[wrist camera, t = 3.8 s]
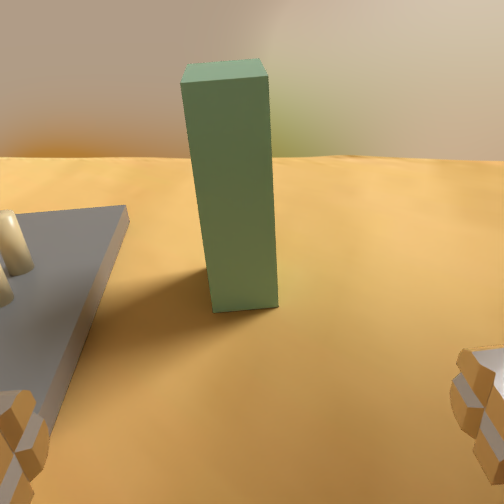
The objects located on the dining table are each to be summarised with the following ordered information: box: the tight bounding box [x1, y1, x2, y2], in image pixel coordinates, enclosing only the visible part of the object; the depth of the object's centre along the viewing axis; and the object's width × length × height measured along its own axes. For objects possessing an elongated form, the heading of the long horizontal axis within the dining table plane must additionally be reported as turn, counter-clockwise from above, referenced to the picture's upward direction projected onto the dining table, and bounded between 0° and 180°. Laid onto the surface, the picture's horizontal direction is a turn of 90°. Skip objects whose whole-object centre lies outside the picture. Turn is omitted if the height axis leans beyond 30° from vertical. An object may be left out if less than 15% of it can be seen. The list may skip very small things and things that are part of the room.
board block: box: [180, 58, 279, 313], centre depth 20 cm, size 3×4×10 cm
